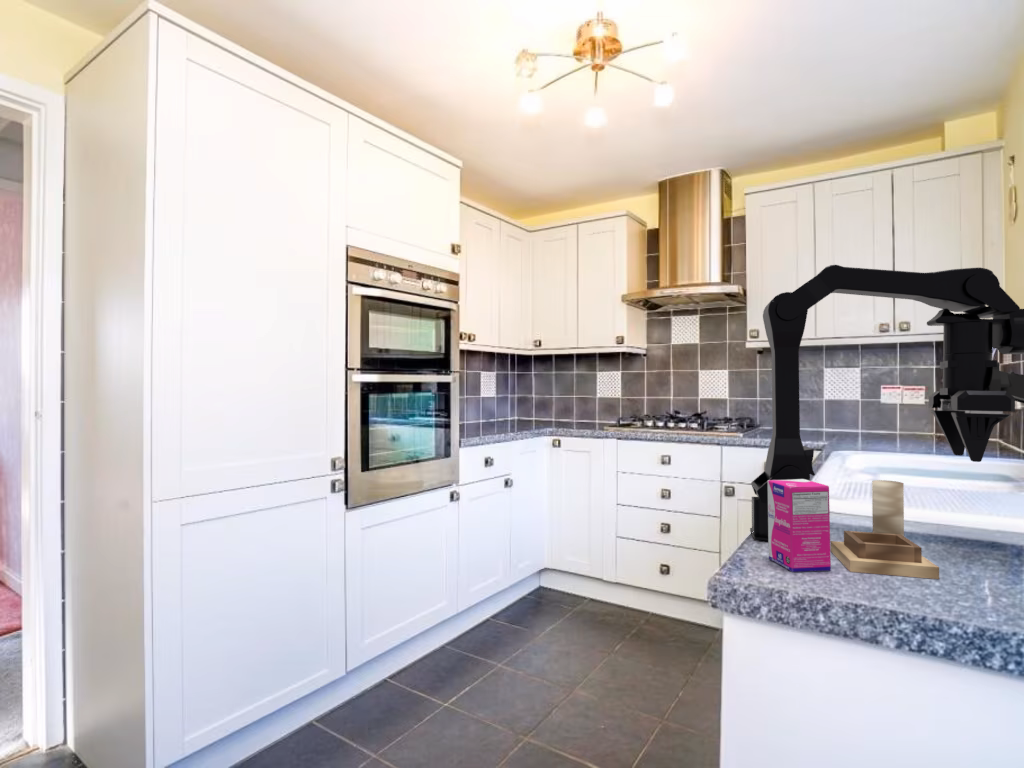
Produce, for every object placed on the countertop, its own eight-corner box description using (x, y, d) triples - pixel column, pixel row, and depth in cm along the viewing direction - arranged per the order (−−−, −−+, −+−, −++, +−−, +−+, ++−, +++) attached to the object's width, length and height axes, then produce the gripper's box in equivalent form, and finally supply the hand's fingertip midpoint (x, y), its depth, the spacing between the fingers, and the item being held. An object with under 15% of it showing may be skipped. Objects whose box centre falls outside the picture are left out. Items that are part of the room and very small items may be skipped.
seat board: (850, 571, 73) (849, 545, 74) (830, 551, 83) (830, 527, 83) (939, 579, 70) (938, 551, 71) (908, 557, 80) (908, 532, 80)
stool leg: (877, 549, 84) (877, 483, 84) (869, 542, 88) (868, 479, 88) (908, 552, 83) (907, 484, 83) (898, 545, 86) (897, 480, 87)
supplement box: (766, 559, 79) (766, 479, 79) (806, 558, 79) (805, 478, 80) (790, 572, 73) (789, 485, 73) (832, 571, 74) (832, 485, 74)
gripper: (1067, 348, 71) (1066, 470, 71) (1014, 357, 88) (1014, 455, 88) (958, 350, 76) (958, 463, 76) (928, 358, 93) (927, 451, 93)
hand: (966, 458), depth 83 cm, fingers open, 9 cm apart
